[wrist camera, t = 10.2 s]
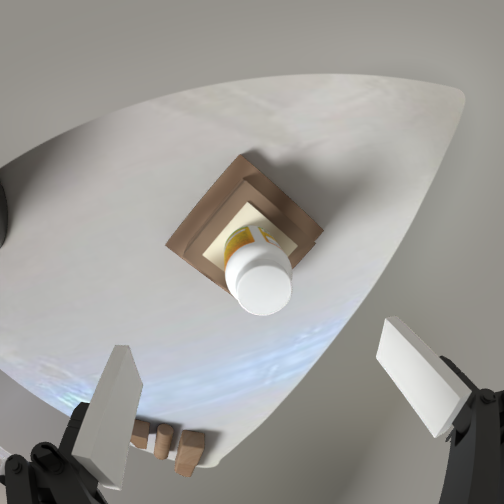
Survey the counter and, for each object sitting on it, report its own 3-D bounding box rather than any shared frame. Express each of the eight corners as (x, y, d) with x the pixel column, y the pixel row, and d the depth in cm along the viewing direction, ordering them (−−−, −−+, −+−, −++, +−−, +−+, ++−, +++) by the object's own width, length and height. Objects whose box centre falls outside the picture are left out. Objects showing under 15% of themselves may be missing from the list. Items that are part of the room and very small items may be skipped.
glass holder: (6, 456, 53) (-3, 478, 38) (29, 474, 57) (21, 496, 43) (1, 456, 53) (-8, 476, 39) (23, 473, 57) (16, 494, 43)
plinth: (167, 240, 34) (155, 259, 27) (238, 154, 32) (244, 151, 25) (249, 302, 38) (256, 331, 31) (318, 227, 36) (340, 241, 29)
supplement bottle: (222, 273, 29) (224, 324, 20) (224, 223, 27) (228, 253, 18) (273, 275, 29) (296, 324, 20) (278, 225, 28) (307, 256, 19)
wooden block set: (206, 450, 42) (191, 481, 46) (205, 429, 47) (192, 463, 52) (119, 432, 38) (121, 467, 43) (124, 411, 44) (125, 449, 48)
